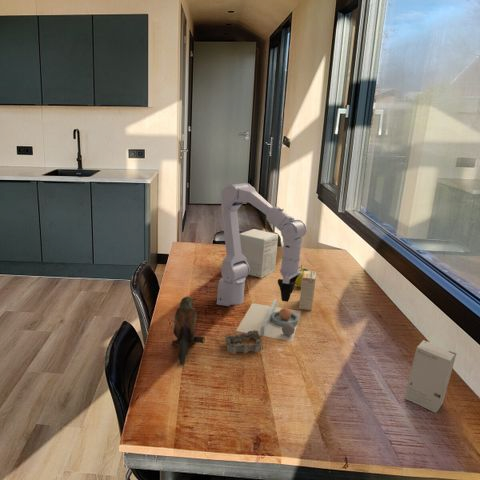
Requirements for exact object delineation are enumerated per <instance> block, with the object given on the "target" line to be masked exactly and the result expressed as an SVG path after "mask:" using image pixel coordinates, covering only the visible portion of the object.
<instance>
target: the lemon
mask: <svg viewBox="0 0 480 480" xmlns="http://www.w3.org/2000/svg"><path fill="white" fill-rule="evenodd" d="M299 271H302V274H301V275H299V276H298V277H297V279H296V281H295V282H296V284H295V286H297V287H298V288H301V285H302V277H303V272H304V271H309V270H308V269H307V268H303V264H301V265H300V266H299Z"/></svg>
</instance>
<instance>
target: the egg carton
mask: <svg viewBox="0 0 480 480" xmlns="http://www.w3.org/2000/svg"><path fill="white" fill-rule="evenodd" d="M224 337H225V346H226V347H227V350H226V351H227V352H229V353H231V354H233V355H235V354H237V353H239V352H241V353H242V354H247V353H248V352H254V353H255V354H257V353H259V352H260V351H262V346H263V342H262V339H261V337H260V335H259V333H258V331H255V330H254V331H248V333H244V332H241V333H240V334H237V333H235V334H231V335H225V336H224ZM251 339H253V340H255V343H248V344H245V343H244V344H243V340H244V341H250V340H251Z"/></svg>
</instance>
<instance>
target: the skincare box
mask: <svg viewBox="0 0 480 480" xmlns="http://www.w3.org/2000/svg"><path fill="white" fill-rule="evenodd" d="M456 358H457V353H456V352H455V351H452V350H450V349H447V348H445V347H443V346H441V345H438V344H435V343H432V342H430V341H426V340H422V341H421V342H420V343H419V344H418V345H417V346H416V350H415V353H414V357H413V359H412V364H411V369H410V373H409V376H408V380H407V381H408V382H407V384H406V389H405V393H404V397H403V398H404V400H407V401H410V402H411V403H414V404H415V405H417V406H419V407H420V406H421V407H422V408H425V409H427V410H429V411H431V412H432V413H435V414H437V412H438V411H439V410H440V408H441V407H442V405H443V404H444V400H445V398H446V394H447V393H446V392H447V390H448V385H449V382H450V379H451V375H452V372H453V368H454V364H455V361H456Z"/></svg>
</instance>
